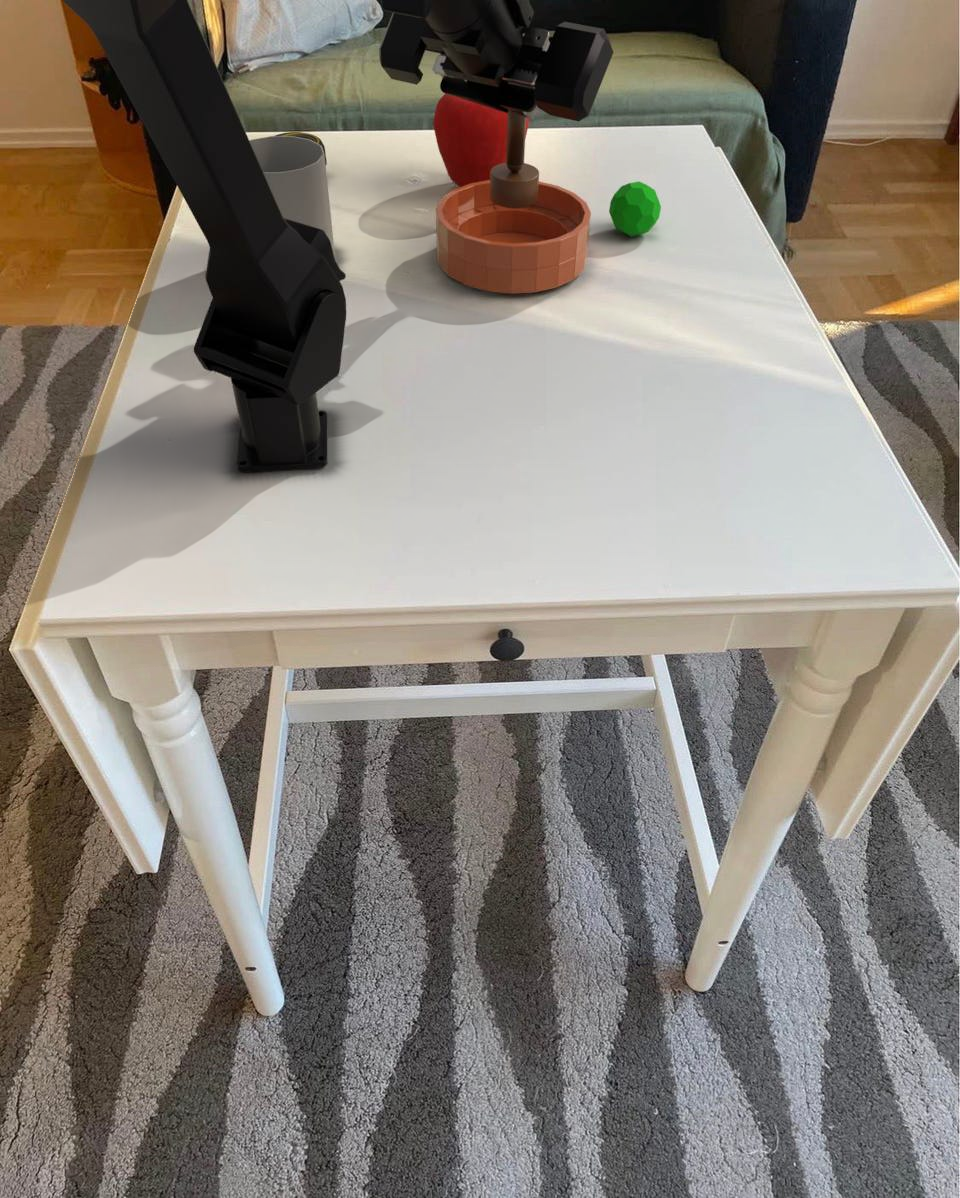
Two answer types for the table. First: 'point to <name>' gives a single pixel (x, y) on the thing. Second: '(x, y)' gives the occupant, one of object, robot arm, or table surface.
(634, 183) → the polyhedron
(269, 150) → the cup
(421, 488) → the table surface
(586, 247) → the bowl
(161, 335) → the table surface
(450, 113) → the apple
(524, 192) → the brown joystick
